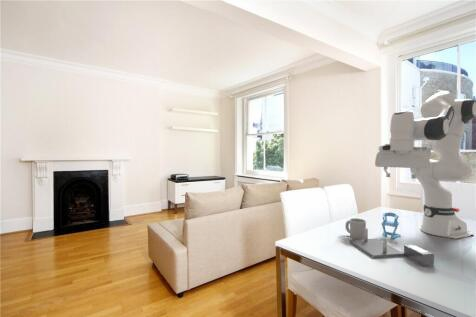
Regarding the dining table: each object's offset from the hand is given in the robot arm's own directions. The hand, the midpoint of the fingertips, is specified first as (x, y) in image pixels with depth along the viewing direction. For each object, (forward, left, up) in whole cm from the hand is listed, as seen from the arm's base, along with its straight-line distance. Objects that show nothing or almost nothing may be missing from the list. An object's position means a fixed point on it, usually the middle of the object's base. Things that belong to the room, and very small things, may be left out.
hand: (400, 177), depth 105 cm
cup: (+12, -16, -32) cm, 38 cm away
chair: (-6, -14, -32) cm, 36 cm away
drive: (+2, +12, -32) cm, 35 cm away
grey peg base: (+12, -1, -32) cm, 34 cm away
